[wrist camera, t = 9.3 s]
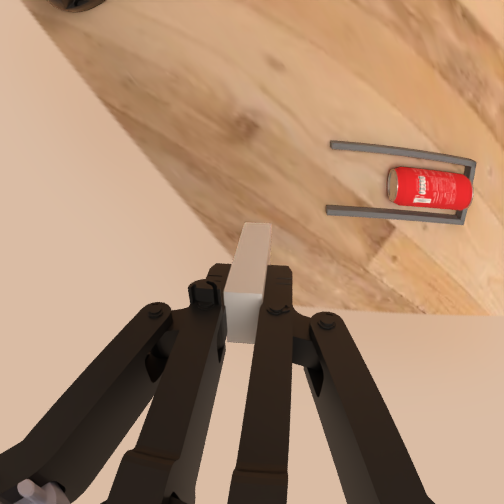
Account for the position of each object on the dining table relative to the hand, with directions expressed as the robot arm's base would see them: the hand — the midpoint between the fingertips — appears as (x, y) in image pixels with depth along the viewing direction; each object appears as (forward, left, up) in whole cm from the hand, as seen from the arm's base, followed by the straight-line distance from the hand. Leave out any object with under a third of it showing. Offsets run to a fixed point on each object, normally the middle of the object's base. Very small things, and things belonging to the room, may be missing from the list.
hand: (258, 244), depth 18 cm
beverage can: (+13, +9, -24) cm, 29 cm away
